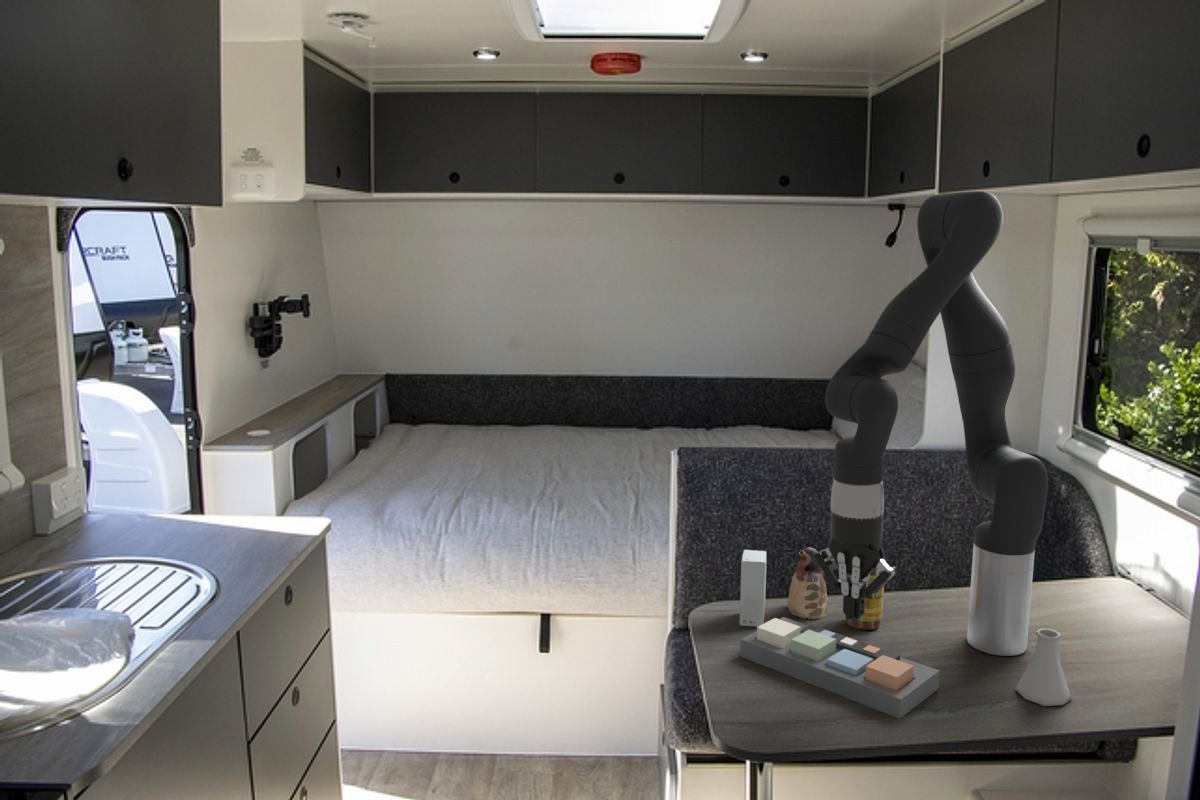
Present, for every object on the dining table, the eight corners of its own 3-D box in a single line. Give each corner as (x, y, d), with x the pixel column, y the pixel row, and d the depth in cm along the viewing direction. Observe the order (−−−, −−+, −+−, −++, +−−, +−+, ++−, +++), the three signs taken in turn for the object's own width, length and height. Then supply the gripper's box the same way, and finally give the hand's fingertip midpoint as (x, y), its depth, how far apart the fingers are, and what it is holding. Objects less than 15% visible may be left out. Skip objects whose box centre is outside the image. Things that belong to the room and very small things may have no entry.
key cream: (774, 631, 159) (775, 617, 159) (800, 641, 156) (800, 626, 155) (756, 641, 156) (757, 627, 155) (782, 651, 152) (783, 636, 152)
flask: (1005, 689, 145) (1010, 627, 143) (1041, 679, 148) (1046, 619, 146) (1044, 711, 138) (1050, 647, 136) (1081, 701, 141) (1087, 638, 139)
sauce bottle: (868, 635, 163) (873, 523, 160) (837, 623, 168) (842, 515, 164) (889, 624, 168) (895, 515, 164) (858, 613, 172) (863, 507, 168)
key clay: (881, 670, 146) (882, 655, 145) (912, 681, 142) (913, 665, 142) (865, 681, 142) (865, 666, 142) (896, 693, 139) (897, 677, 138)
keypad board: (782, 633, 164) (783, 611, 164) (938, 688, 145) (940, 664, 144) (740, 656, 156) (740, 633, 155) (899, 718, 137) (901, 692, 136)
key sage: (808, 643, 155) (808, 629, 154) (835, 653, 151) (836, 638, 151) (790, 654, 151) (791, 639, 151) (818, 664, 148) (818, 649, 147)
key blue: (843, 663, 150) (844, 648, 150) (872, 673, 147) (873, 658, 146) (826, 674, 147) (827, 659, 146) (855, 685, 144) (856, 669, 143)
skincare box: (764, 628, 167) (765, 562, 164) (739, 626, 167) (740, 561, 165) (765, 613, 172) (767, 550, 170) (741, 612, 173) (742, 549, 171)
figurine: (836, 613, 172) (839, 550, 170) (807, 622, 169) (809, 557, 166) (808, 600, 178) (810, 538, 176) (779, 608, 175) (781, 546, 172)
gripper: (911, 511, 140) (905, 622, 143) (831, 494, 149) (828, 599, 152) (885, 524, 135) (881, 639, 138) (804, 505, 144) (802, 613, 147)
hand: (853, 618), depth 145 cm, fingers closed
